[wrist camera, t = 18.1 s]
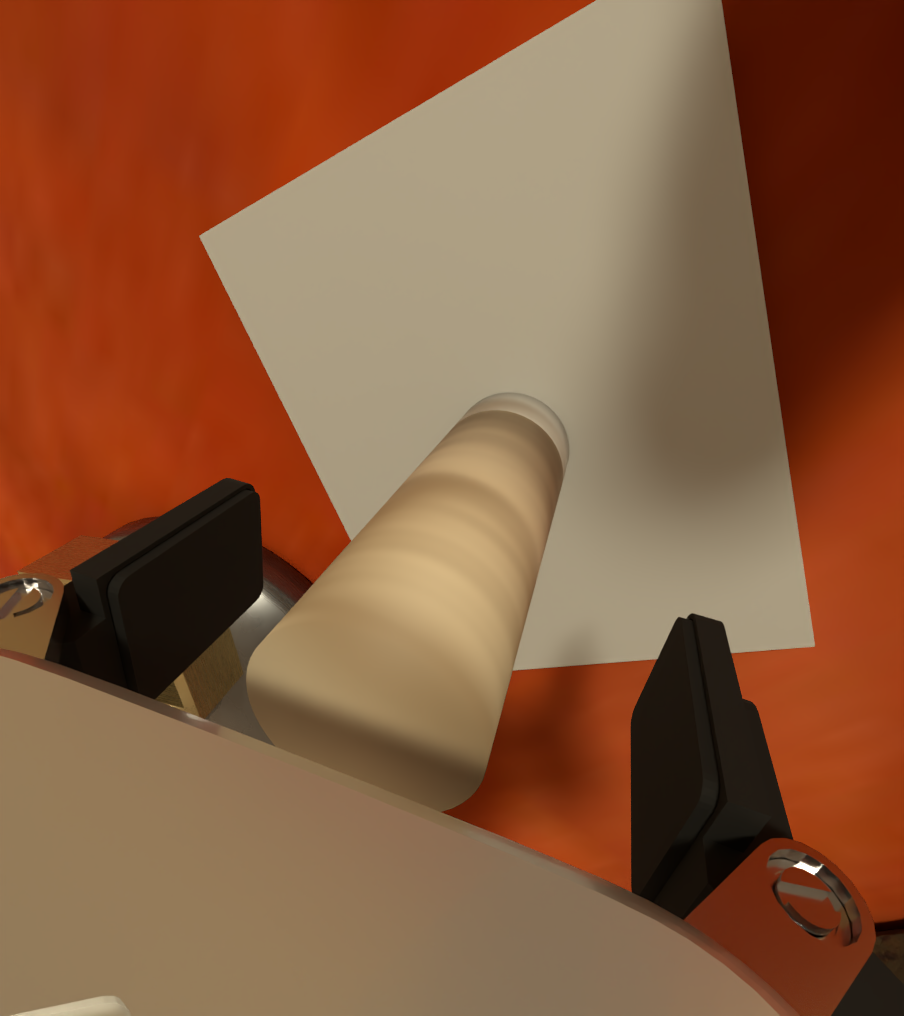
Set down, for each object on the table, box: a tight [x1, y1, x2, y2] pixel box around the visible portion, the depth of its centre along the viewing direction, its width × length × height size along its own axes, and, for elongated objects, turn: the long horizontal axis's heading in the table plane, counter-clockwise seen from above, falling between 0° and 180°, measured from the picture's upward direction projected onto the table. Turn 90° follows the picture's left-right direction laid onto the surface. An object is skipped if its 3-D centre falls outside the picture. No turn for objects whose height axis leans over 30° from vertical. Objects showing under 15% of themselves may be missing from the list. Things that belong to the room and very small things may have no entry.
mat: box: [199, 0, 815, 670], centre depth 19 cm, size 20×16×1 cm
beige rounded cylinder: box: [246, 392, 569, 812], centre depth 13 cm, size 4×4×12 cm
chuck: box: [17, 517, 312, 747], centre depth 26 cm, size 18×18×8 cm
